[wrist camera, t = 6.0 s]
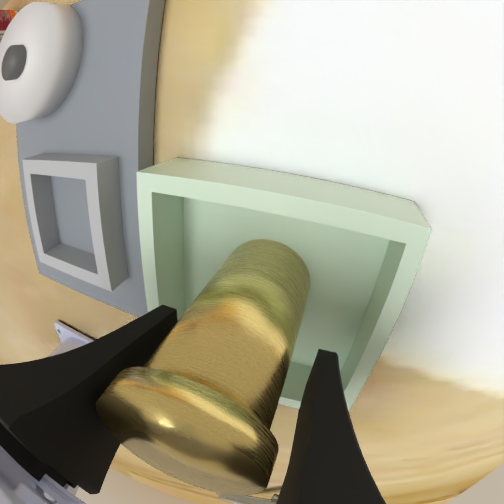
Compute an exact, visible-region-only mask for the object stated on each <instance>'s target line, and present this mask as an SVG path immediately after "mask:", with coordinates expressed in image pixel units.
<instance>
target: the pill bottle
mask: <svg viewBox="0 0 504 504" xmlns="http://www.w3.org/2000/svg"><path fill="white" fill-rule="evenodd" d="M17 13H18V11H15V10H0V42H1V40H2V37H3V35H4V33H5V31H6V29H7V27H8V25H9V24H10V22H11V21H12V19H13V18H14V17H15V15H16V14H17Z"/></svg>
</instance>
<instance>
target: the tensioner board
mask: <svg viewBox="0 0 504 504" xmlns="http://www.w3.org/2000/svg"><path fill="white" fill-rule="evenodd" d="M164 5H165V0H82V1H80V2H77V3H75V4H73V5H71V6H69V5H64V4H56V3H47V2H33V3H30V4H28V5H26V6H25V7H24V8H22V9H21V10H20V11H19V12H18V13H17V14H16V15H15V17H14V18H13V19H12V21H11V22H10V24H9V25H8V27H7V29H6V31H5V33H4V35H3V37H2V40H1V42H0V114H1V116H2V117H3V118H4V119H5V120H6V121H7V122H9V123H16V126H17V147H18V160H19V170H20V179H21V187H22V194H23V200H24V207H25V212H26V218H27V223H28V228H29V233H30V238H31V242H32V246H33V251H34V255H35V259H36V263H37V266H38V270H39V273H40V274H42V275H44V276H46V277H48V278H50V279H52V280H54V281H56V282H58V283H61V284H63V285H65V286H67V287H69V288H71V289H73V290H76V291H78V292H80V293H82V294H85V295H87V296H89V297H91V298H94V299H96V300H98V301H101V302H103V303H105V304H108V305H110V306H113V307H115V308H117V309H120V310H122V311H125V312H127V313H130V314H132V315H135V316H138V317H141V316H143V315H144V314H146V313H148V309H147V302H146V294H145V286H144V277H143V268H142V258H141V247H140V235H139V220H138V202H137V171H140V170H143V169H145V168H148V167H151V166H153V139H154V110H155V92H156V77H157V65H158V54H159V44H160V35H161V27H162V19H163V12H164Z"/></svg>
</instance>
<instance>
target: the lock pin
mask: <svg viewBox="0 0 504 504" xmlns="http://www.w3.org/2000/svg"><path fill="white" fill-rule="evenodd" d="M309 290H310V274H309V271H308V268H307V266H306V264H305V263H304V261H303V260H302V258H301V257H300V256H299V255H298V254H297V253H296V252H295V251H294V250H292V249H291V248H290V247H288V246H286V245H284V244H282V243H280V242H277V241H273V240H268V239H256V240H251V241H247V242H245V243H243V244H241V245H239V246H238V247H237V248H235V249H234V251H233V252H232V253H231V254H230V255H229V257H228V258H227V259H226V260H225V262H224V263H223V264H222V265H221V267H220V268H219V269H218V270H217V272H216V273H215V274H214V276H213V277H212V278H211V279H210V281H209V282H208V283H207V285H206V286H205V287H204V288H203V290H202V291H201V292H200V293H199V295H198V296H197V297H196V299H195V300H194V301H193V302H192V304H191V305H190V306H189V308H188V309H187V310H186V311H185V313H184V314H183V315H182V317H181V318H180V319H179V320H178V322H177V323H176V324H175V326H174V327H173V328H172V330H171V331H170V332H169V333H168V335H167V336H166V337H165V339H164V340H163V341H162V343H161V344H160V345H159V346H158V348H157V349H156V350H155V352H154V353H153V354H152V356H151V357H150V358H149V360H148V361H147V362H146V363H145V365H144V366H143V367H130V368H127V369H124V370H123V371H121V372H120V373H119V374H118V375H117V376H116V378H115V379H114V380H113V381H112V383H111V384H110V385H109V386H108V388H107V389H106V390H105V391H104V393H103V394H102V395H101V396H100V398H99V399H98V400H97V401H96V411H97V414H98V416H99V418H100V420H101V421H102V423H103V424H104V426H105V427H106V428H107V430H108V431H109V432H110V433H111V434H112V435H113V436H114V437H115V438H116V439H117V440H118V441H119V442H120V443H121V444H122V445H123V446H124V447H126V448H127V449H128V450H129V451H131V452H132V453H133V454H135V455H136V456H137V457H139V458H140V459H142V460H143V461H145V462H146V463H148V464H149V465H151V466H153V467H154V468H156V469H158V470H160V471H162V472H163V473H165V474H167V475H169V476H172V477H174V478H176V479H178V480H180V481H183V482H185V483H188V484H191V485H193V486H196V487H200V488H203V489H206V490H210V491H215V492H219V493H225V494H234V495H250V494H256V493H259V492H262V491H263V490H265V489H266V487H267V485H268V482H269V479H270V476H271V473H272V470H273V467H274V464H275V461H276V458H277V454H278V444H277V441H276V439H275V437H274V435H273V434H272V432H271V431H270V427H271V424H272V421H273V418H274V415H275V412H276V409H277V405H278V402H279V399H280V396H281V393H282V389H283V386H284V383H285V379H286V376H287V372H288V369H289V366H290V362H291V359H292V355H293V351H294V348H295V344H296V341H297V337H298V333H299V329H300V326H301V322H302V318H303V314H304V310H305V306H306V302H307V298H308V294H309Z"/></svg>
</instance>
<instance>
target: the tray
mask: <svg viewBox="0 0 504 504" xmlns="http://www.w3.org/2000/svg"><path fill="white" fill-rule="evenodd" d="M137 202H138V220H139V235H140V247H141V258H142V268H143V277H144V286H145V294H146V302H147V309H148V312H150V311H152V310H153V309H155V308H157V307H159V306H161V305H166V306H169V307H172V308H175V309H177V319H178V320H179V319H180V318H181V317H182V315H183V314H184V313H185V311H186V310H187V309H188V308H189V306H190V305H191V304H192V302H193V301H194V300H195V299H196V297H197V296H198V295H199V293H200V292H201V291H202V290H203V288H204V287H205V286H206V285H207V283H208V282H209V281H210V279H211V278H212V277H213V276H214V274H215V273H216V272H217V270H218V269H219V268H220V267H221V265H222V264H223V263H224V262H225V260H226V259H227V258H228V257H229V255H230V254H231V253H232V252H233V251H234V249H235V248H237V247H238V246H239V245H241V244H243V243H245V242H247V241H251V240H256V239H268V240H273V241H277V242H280V243H282V244H284V245H286V246H288V247H290V248H291V249H292V250H294V251H295V252H296V253H297V254H298V255H299V256H300V257H301V258H302V260H303V261H304V263H305V264H306V266H307V268H308V271H309V274H310V290H309V294H308V298H307V302H306V306H305V310H304V314H303V318H302V322H301V326H300V329H299V333H298V337H297V341H296V344H295V348H294V351H293V355H292V359H291V362H290V366H289V369H288V372H287V376H286V379H285V383H284V386H283V389H282V393H281V396H280V399H279V402H278V404H280V405H284V406H288V407H292V408H296V409H299V408H300V405H301V401H302V397H303V394H304V390H305V386H306V383H307V380H308V378H309V375H310V372H311V369H312V367H313V364H314V361H315V358H316V355H317V352H318V349H322V350H327V351H331V352H336V353H337V355H338V360H339V368H340V375H341V380H342V386H343V391H344V395H345V399H346V403H347V408H348V411H349V410H350V408H351V406H352V405H353V403H354V401H355V400H356V398H357V396H358V395H359V393H360V391H361V389H362V388H363V386H364V384H365V382H366V381H367V379H368V377H369V375H370V373H371V371H372V370H373V368H374V366H375V364H376V362H377V360H378V358H379V356H380V354H381V352H382V350H383V348H384V346H385V344H386V342H387V340H388V338H389V336H390V334H391V332H392V330H393V328H394V325H395V323H396V321H397V319H398V317H399V314H400V312H401V310H402V307H403V305H404V303H405V300H406V298H407V296H408V293H409V291H410V288H411V286H412V283H413V281H414V278H415V276H416V273H417V270H418V268H419V265H420V262H421V259H422V257H423V254H424V251H425V248H426V245H427V242H428V239H429V236H430V233H431V230H432V228H431V227H430V225H429V223H428V222H427V220H426V219H425V217H424V216H423V214H422V213H421V211H420V210H419V208H418V207H417V205H416V204H415V202H414V201H410V200H406V199H403V198H399V197H395V196H391V195H387V194H383V193H379V192H375V191H371V190H367V189H362V188H358V187H354V186H349V185H344V184H340V183H335V182H330V181H326V180H321V179H316V178H311V177H305V176H300V175H295V174H289V173H284V172H278V171H272V170H266V169H260V168H253V167H247V166H240V165H233V164H226V163H219V162H211V161H203V160H194V159H185V158H174V159H171V160H168V161H165V162H162V163H159V164H156V165H154V166H151V167H148V168H145V169H143V170H140V171H137Z"/></svg>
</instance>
